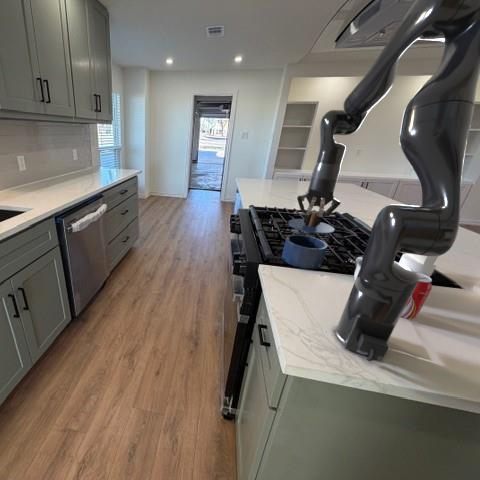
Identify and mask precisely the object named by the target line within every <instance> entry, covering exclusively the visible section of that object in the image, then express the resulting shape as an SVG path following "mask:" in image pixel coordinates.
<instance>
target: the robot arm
mask: <svg viewBox="0 0 480 480" xmlns="http://www.w3.org/2000/svg"><path fill="white" fill-rule="evenodd" d="M418 40H421V41H422V40H423V41H435V42H436V41H437V42H441V43H442V44H443V51H442V57H441V60H440V64H439V66H438V68H437V70H436V71H435V72H434V73H433V74H432V75H431V76H430V77H429V79H428V80H427V81H426V82H425V83H424V84H423V85H422V86H421V87H420V88H419V89H418V90H417V91H416V93H415V94H414V95H413V96H412V98H410V100H409V101H408V102H407V105H406V106H405V109H404V110H403V115H402V120H401V125H400V132H399V146H400V150H401V151H402V153H403V156H404V157H405V159H406V160H407V162H408V163H409V165H410V167H411V168H412V170H413V172H414V173H415V175H416V176H417V178H418V181H419V184H420V189H421V203H420V204H421V205H408V204H400V203H399V204H396V203H395V204H393V203H392V204H387V205H386V206H384V207H382V208H381V209H380V211H379V212H378V213H377V215H376V217H375V218H374V219H375V220H374V221H373V224H372V227H371V229H370V234H369V237H368V240H367V242H366V246H365V249H364V252H363V255H362V257H363V259H362V264H361V268H360V270H359V273H358V275H357V278H356V281H355V280H354V283H353V285H352V287H351V291H350V293H349V296H348V298H347V300H346V303H345V305H344V308H343V311H342V313H341V316H340V319H339V321H338V323H337V326H336V327H335V330H334V336H335V337H336V339H337V340H338V341H339V342H340V343H341V344H342V345H343V347H344V350H348V351H349V352H350V351H351V352H354V353H357V354H359V355H363V356H365V360H366V361H367V362H373V361H374V360H379V359H380V358H384V357H385V355H386V353H387V352H388V349H389V345H388V342H389V340H390V338H391V336H392V334H393V332H394V329H395V328H396V326H397V324H398V322H399V320H400V318H401V317H400V316H401V315H402V313H403V311H404V309H405V307H406V305H407V303H408V301H409V299H410V297H411V295H412V293H413V291H414V289H415V288H416V286H417V284H418V281H419V277H418V275H417V274H416V273H415V272H414V271H413V270H411V269H410V268H408V267H406V266H404V265H402V264H400V263H399V262H398V261H396V260H395V259H396V257H397V253H402V254H406V253H408V254H416V255H423V256H438V257H440V256H442V255H445V254H446V253H447V252H449V251H450V249H451V248H452V247H453V245H454V244H455V242H456V240H457V237H458V234H459V227H460V220H461V199H462V197H461V196H462V195H461V194H462V177H463V168H464V161H465V155H466V149H467V144H468V138H469V134H470V130H471V126H472V122H473V115H474V110H475V103H476V95H477V88H478V82H479V79H480V0H415V1H414V3H413V4H412V6H410V8H409V9H408V11H407V12H406V14H405V16H404V17H403V18H402V20H401V22H400V23H399V25H398V26H397V28H396V29H395V31H394V32H393V34H391V36H390V38H389V40H388V41H387V43H386V44H385V45H384V47H383V48H382V51H381V52H380V53H379V55H378V57H377V58H376V60H375V61H374V63H373V64H372V66H371V67H370V69H369V70H368V71H367V73H366V74H365V75H364V76H363V77H362V79H361V80H360V81H359V82H358V84H357V85H356V86H355V87H354V88H353V89H352V91H351V92H350V93H349V94H348V95H347V96H346V98H345V100H344V102H343V105H342V106H343V109H331V110H328V111H327V112H325V114H324V115H322V118H321V120H320V123H319V151H318V154H317V158H316V162H315V165H314V167H313V170H312V173H311V178H310V181H309V186H308V189H307V191H306V192H305V194H302V195H297V197H296V199H297V202H298V207H299V209H300V212H301V213H303V214H304V217H303V219H304V223H305V225H307V224H308V221H309V217H310V212H311V211H313V208H314V207H318V216H317V219H316V223H315V226H316V227H317V225H319V224H320V222H322V218H323V217H329V216H330V215H332V213H333V212H334V211H335V210H336V209H337V208H338V207H339V206H340V205H341V201H340V200H339V199H336V198H335V196H334V193H335V189H336V186H337V182H338V179H339V176H340V172H341V168H342V162H343V159H344V157H345V153H346V149H347V147H346V145H344V144H343V143H339V142H336V139H335V136H349V135H352V134H354V133H356V132H357V131H358V130H359V129H360V128H361V125H362V124H363V122H364V120H365V118H366V117H367V115H368V114H369V113H370V111H371V110H372V109H373V108H374V107H375V106H376V105H377V104H379V102H380V101H381V100H382V99H383V98H384V97H385V96H387V94H388V93H389V91H390V90H391V88H392V87H393V85H394V82H395V79H396V76H397V73H398V68H399V63H400V60H401V58H402V55H404V53H405V52H406V50H407V49H408V48H409V47H411V45H413V43H415V42H417V41H418ZM305 199H306V200H307V202H308V205H307V208H305V205H304V201H305ZM330 202H331V203H330ZM329 203H330V204H331V205H330V206H329V207H328V208H327V209H326V210H325V207H326V206H327V205H328V204H329ZM324 210H325V211H324Z"/></svg>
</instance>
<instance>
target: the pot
mask: <svg viewBox="0 0 480 480" xmlns="http://www.w3.org/2000/svg"><path fill="white" fill-rule="evenodd" d="M327 250H328V244H327V243H326V242H325V241H324V240H321V239H320V238H316V237H313V236H310V235H305V234H289V235H287V236H286V238H285V240H284V245H283V249H282V253H281V259H282V261H284V262H285V263H287V264H288V265H290V266H293V267H296V268H300V269H303V270H304V269H305V270H319V268H321V267H322V265H323V262H324V259H325V256H326V254H327V253H326V252H327ZM283 258H284V259H285V260H284V259H283Z"/></svg>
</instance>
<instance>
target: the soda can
mask: <svg viewBox="0 0 480 480" xmlns="http://www.w3.org/2000/svg"><path fill="white" fill-rule="evenodd" d="M414 272H415V271H414ZM415 273H416V274H417V275H418V277H419V281H418V284H417V286H416V288H415V289H414V291H413V293H412V295H411V297H410V299H409V301H408V303H407V305H406V307H405V309H404V311H403V313H402V315H401V316H400V318H403V319H410V320H411V319H415V318H416V317H417V316H418V315H419V313H420V311H421V310H422V309H423V306H424V305H425V303H426V301H427V299H428V297H429V295H430V293H431V291H432V288H433V285H432V282H433V279H432V278H431V277H428V276H426V275H424V274H422V273H418V272H415Z"/></svg>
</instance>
